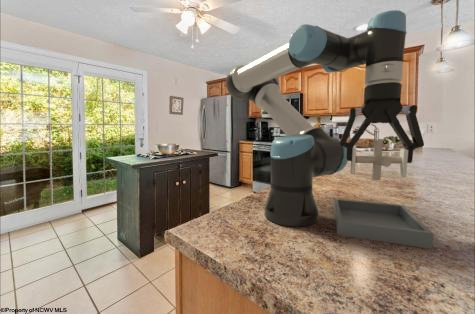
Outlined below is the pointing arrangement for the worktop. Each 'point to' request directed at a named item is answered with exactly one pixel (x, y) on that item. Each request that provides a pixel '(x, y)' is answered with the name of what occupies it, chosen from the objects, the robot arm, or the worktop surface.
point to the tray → (380, 223)
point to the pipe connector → (378, 159)
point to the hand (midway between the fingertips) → (376, 174)
